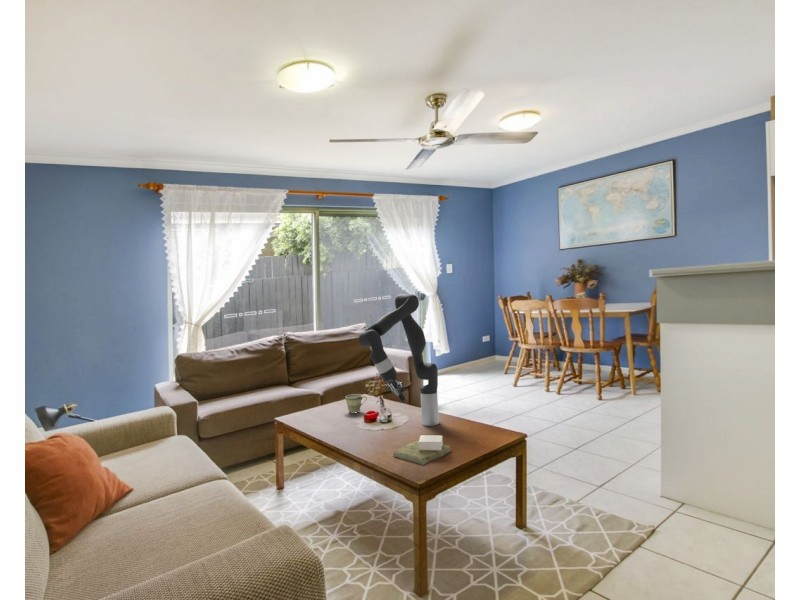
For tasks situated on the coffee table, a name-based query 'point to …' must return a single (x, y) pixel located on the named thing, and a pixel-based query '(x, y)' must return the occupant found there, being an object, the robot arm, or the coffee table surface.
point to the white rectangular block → (430, 443)
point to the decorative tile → (419, 453)
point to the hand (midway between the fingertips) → (403, 400)
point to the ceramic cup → (354, 402)
